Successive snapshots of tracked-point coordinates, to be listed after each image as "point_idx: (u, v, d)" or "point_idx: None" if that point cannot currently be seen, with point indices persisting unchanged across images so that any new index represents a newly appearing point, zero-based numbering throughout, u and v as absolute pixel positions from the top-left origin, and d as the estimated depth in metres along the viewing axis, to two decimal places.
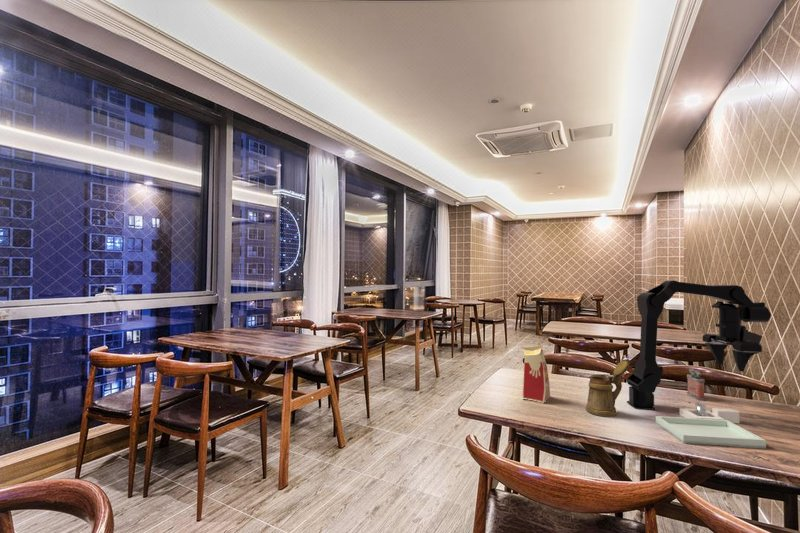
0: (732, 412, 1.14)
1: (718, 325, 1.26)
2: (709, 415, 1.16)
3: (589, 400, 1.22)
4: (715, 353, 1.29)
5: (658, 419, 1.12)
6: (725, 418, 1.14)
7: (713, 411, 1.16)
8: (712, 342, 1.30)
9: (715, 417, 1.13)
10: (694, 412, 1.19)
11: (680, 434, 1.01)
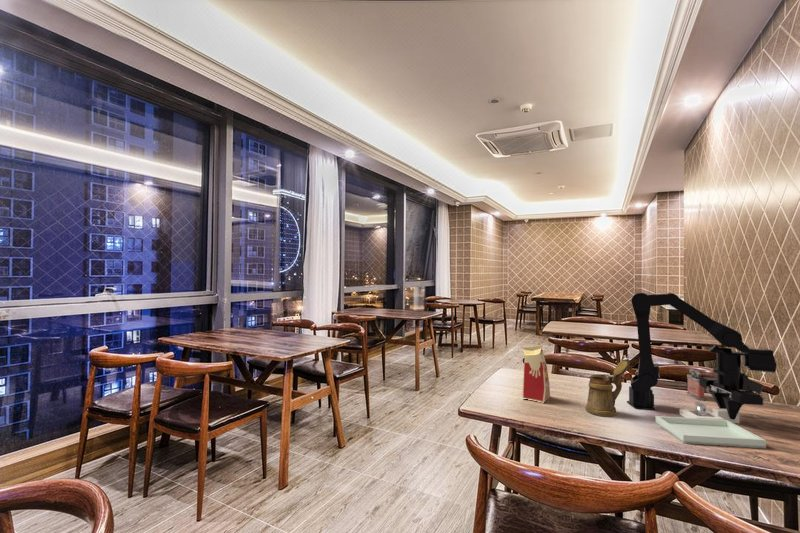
0: None
1: (716, 371, 1.17)
2: (709, 415, 1.16)
3: (589, 400, 1.22)
4: (719, 403, 1.17)
5: (658, 419, 1.12)
6: (725, 418, 1.14)
7: (713, 411, 1.16)
8: (716, 391, 1.18)
9: (715, 417, 1.13)
10: (694, 412, 1.19)
11: (680, 434, 1.01)
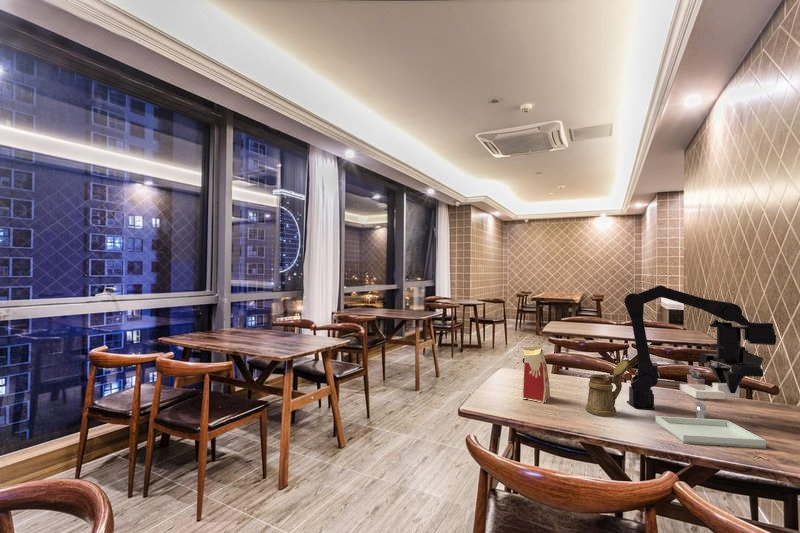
0: None
1: (716, 345, 1.17)
2: (709, 389, 1.16)
3: (589, 400, 1.22)
4: (719, 378, 1.17)
5: (658, 419, 1.12)
6: (725, 392, 1.14)
7: (713, 385, 1.16)
8: (716, 365, 1.18)
9: (715, 391, 1.13)
10: (694, 387, 1.19)
11: (680, 434, 1.01)
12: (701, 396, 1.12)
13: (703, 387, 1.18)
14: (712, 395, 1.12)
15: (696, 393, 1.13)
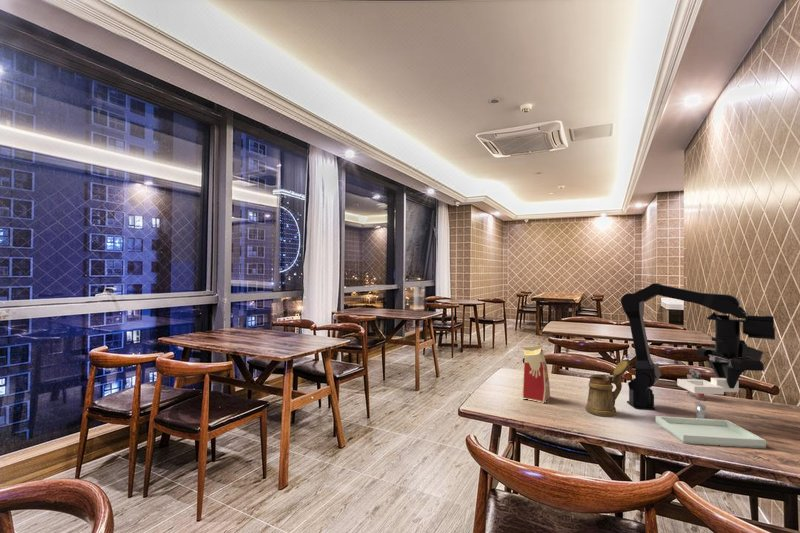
0: None
1: (714, 339, 1.13)
2: (708, 385, 1.12)
3: (589, 400, 1.22)
4: (718, 373, 1.13)
5: (658, 419, 1.12)
6: (724, 387, 1.10)
7: (712, 380, 1.13)
8: (715, 360, 1.14)
9: (714, 386, 1.09)
10: (692, 382, 1.15)
11: (680, 434, 1.01)
12: (700, 391, 1.09)
13: (701, 382, 1.15)
14: (711, 390, 1.08)
15: (695, 388, 1.09)
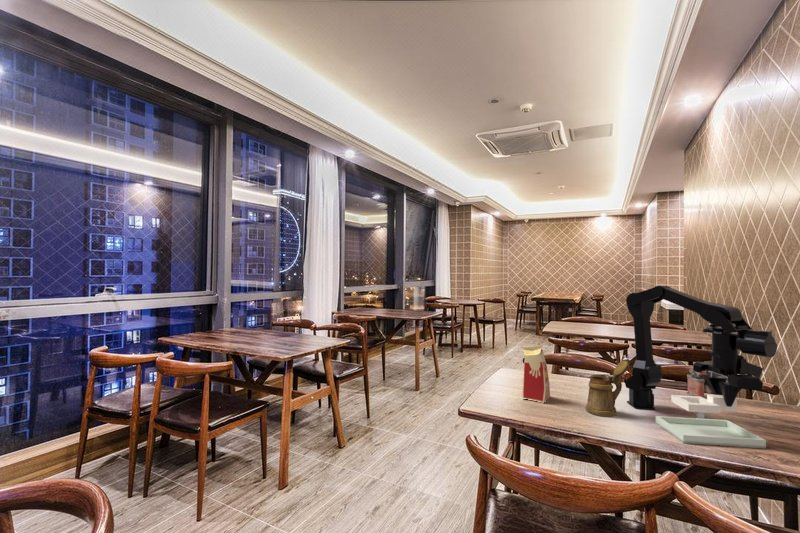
0: None
1: (711, 353, 1.06)
2: (704, 402, 1.05)
3: (589, 400, 1.22)
4: (715, 389, 1.06)
5: (658, 419, 1.12)
6: (721, 405, 1.04)
7: (708, 398, 1.06)
8: (712, 375, 1.07)
9: (710, 404, 1.02)
10: (687, 399, 1.08)
11: (680, 434, 1.01)
12: (694, 410, 1.02)
13: (697, 399, 1.08)
14: (706, 409, 1.02)
15: (689, 406, 1.02)
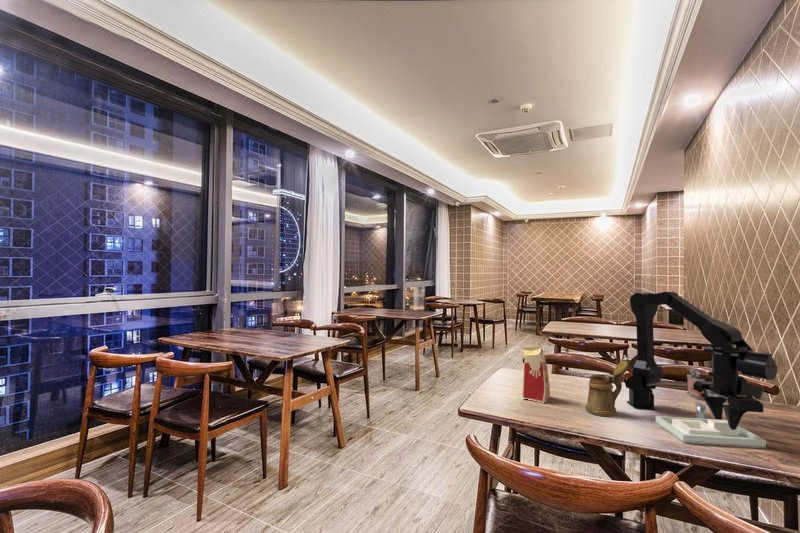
0: None
1: (711, 374, 1.06)
2: (704, 427, 1.05)
3: (589, 400, 1.22)
4: (712, 408, 1.08)
5: (658, 419, 1.12)
6: (722, 430, 1.03)
7: (709, 422, 1.06)
8: (709, 394, 1.08)
9: (711, 429, 1.02)
10: (688, 423, 1.08)
11: (680, 434, 1.01)
12: None
13: (698, 423, 1.08)
14: None
15: (690, 432, 1.02)
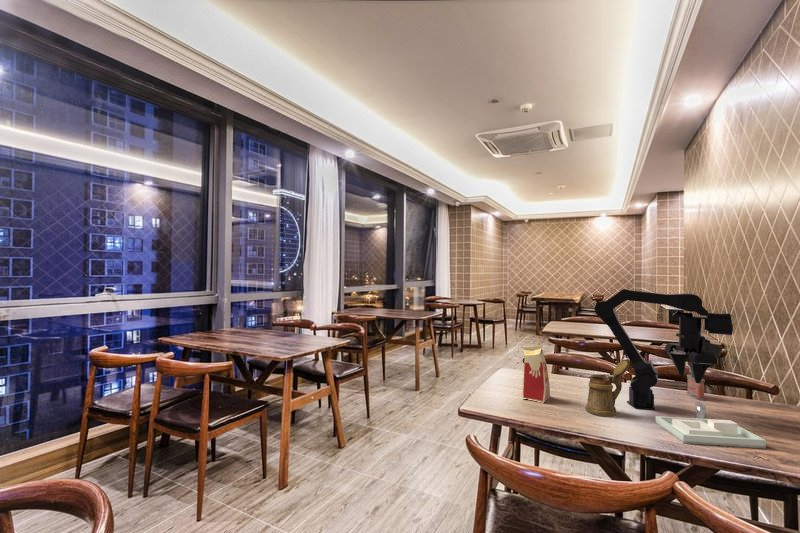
0: (730, 424, 1.03)
1: (678, 335, 1.22)
2: (704, 427, 1.05)
3: (589, 400, 1.22)
4: (676, 364, 1.25)
5: (658, 419, 1.12)
6: (722, 430, 1.03)
7: (709, 422, 1.06)
8: (673, 352, 1.26)
9: (711, 429, 1.02)
10: (688, 423, 1.08)
11: (680, 434, 1.01)
12: None
13: (698, 423, 1.08)
14: None
15: (690, 432, 1.02)
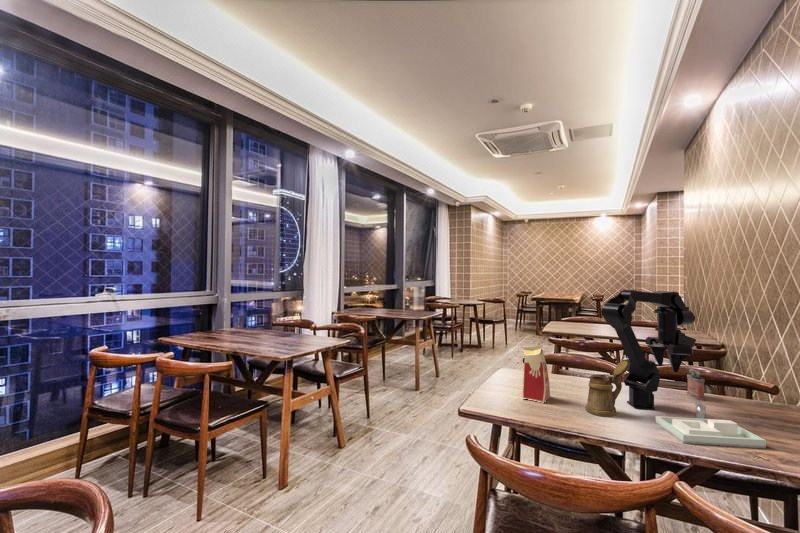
0: (730, 424, 1.03)
1: (657, 329, 1.34)
2: (704, 427, 1.05)
3: (589, 400, 1.22)
4: (655, 355, 1.37)
5: (658, 419, 1.12)
6: (722, 430, 1.03)
7: (709, 422, 1.06)
8: (653, 345, 1.38)
9: (711, 429, 1.02)
10: (688, 423, 1.08)
11: (680, 434, 1.01)
12: None
13: (698, 423, 1.08)
14: None
15: (690, 432, 1.02)
